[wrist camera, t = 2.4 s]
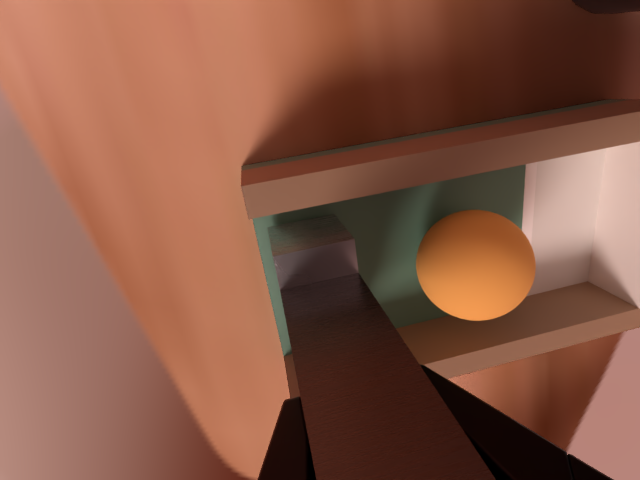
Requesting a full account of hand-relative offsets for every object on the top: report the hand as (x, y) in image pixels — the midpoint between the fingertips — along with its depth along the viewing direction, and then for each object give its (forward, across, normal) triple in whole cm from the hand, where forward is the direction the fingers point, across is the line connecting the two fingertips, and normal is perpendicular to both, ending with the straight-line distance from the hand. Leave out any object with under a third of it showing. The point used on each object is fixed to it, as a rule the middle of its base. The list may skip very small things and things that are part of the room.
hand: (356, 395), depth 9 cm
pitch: (+8, -6, 0) cm, 10 cm away
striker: (+6, 0, 0) cm, 6 cm away
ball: (+4, -6, 0) cm, 7 cm away
